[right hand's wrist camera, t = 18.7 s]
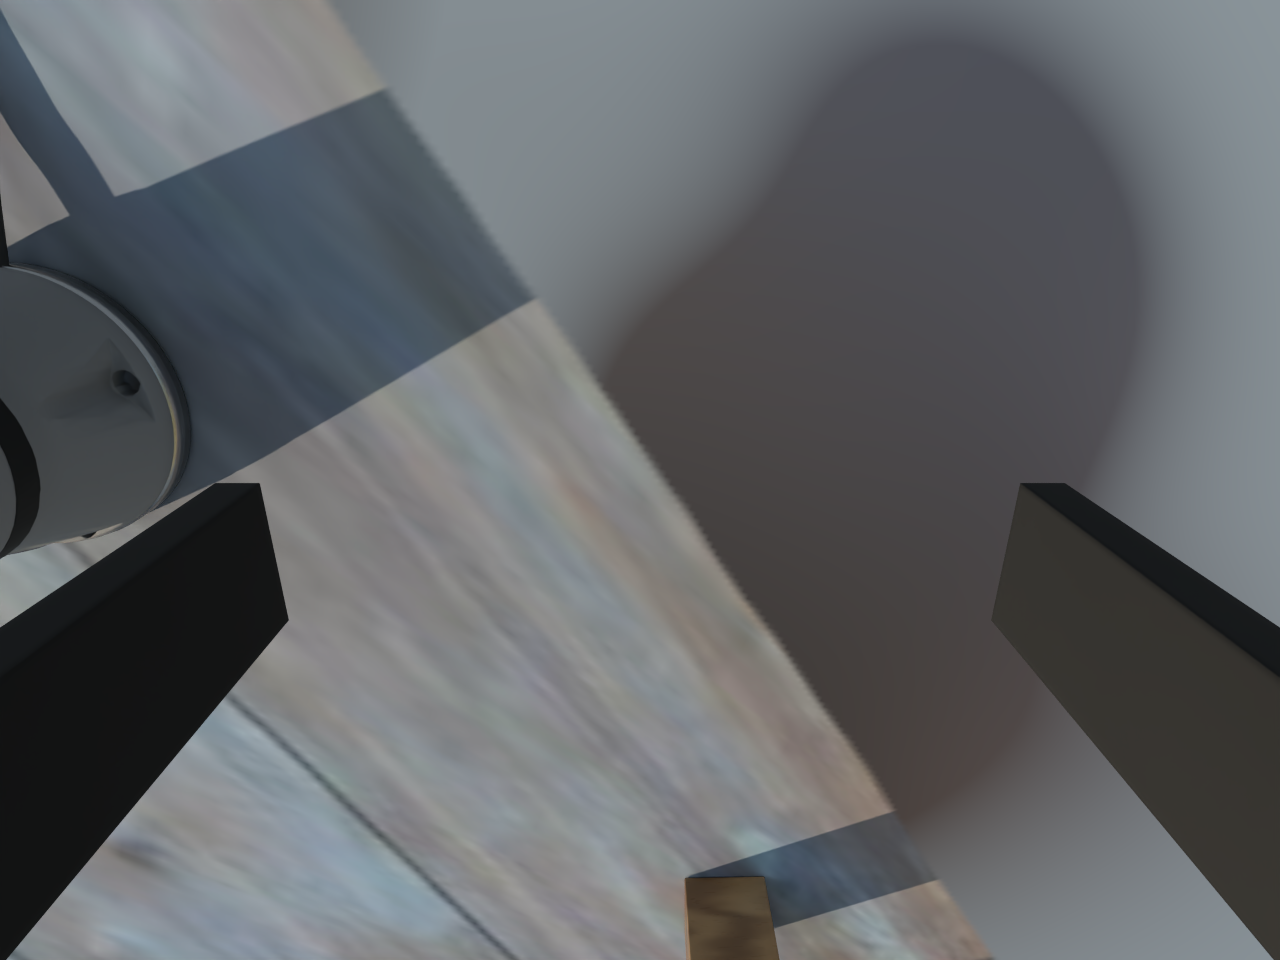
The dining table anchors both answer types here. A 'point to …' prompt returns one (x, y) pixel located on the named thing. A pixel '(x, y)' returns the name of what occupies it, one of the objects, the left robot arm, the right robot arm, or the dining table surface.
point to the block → (728, 919)
